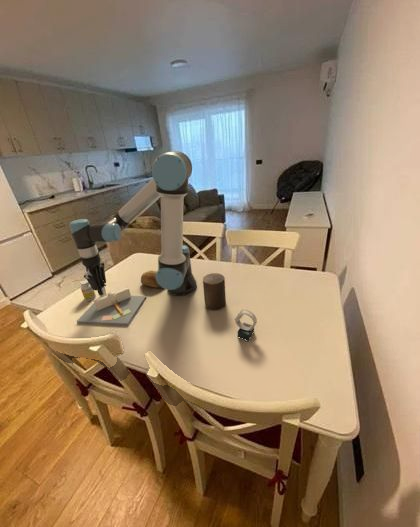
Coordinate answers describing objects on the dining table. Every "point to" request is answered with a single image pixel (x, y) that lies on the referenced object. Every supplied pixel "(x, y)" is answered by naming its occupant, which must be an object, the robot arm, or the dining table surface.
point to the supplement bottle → (87, 290)
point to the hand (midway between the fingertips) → (104, 299)
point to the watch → (245, 324)
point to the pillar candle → (214, 291)
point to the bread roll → (149, 279)
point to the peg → (112, 299)
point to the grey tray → (113, 312)
